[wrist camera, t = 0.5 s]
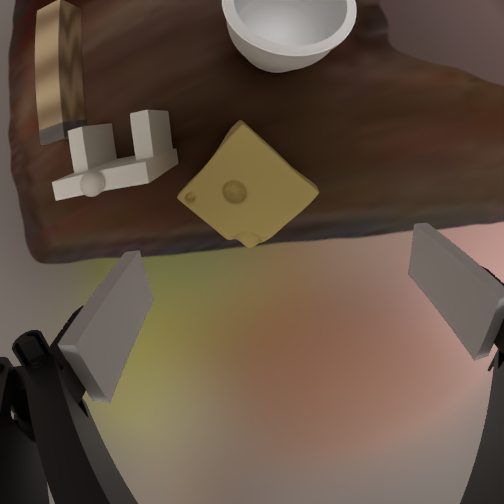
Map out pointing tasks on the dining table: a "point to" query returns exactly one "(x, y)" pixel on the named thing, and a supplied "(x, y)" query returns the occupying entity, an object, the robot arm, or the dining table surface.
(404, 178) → the dining table surface
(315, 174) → the dining table surface
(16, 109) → the dining table surface
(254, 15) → the white cup
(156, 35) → the dining table surface
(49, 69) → the rail
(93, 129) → the white u-channel bracket
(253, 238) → the cheese
